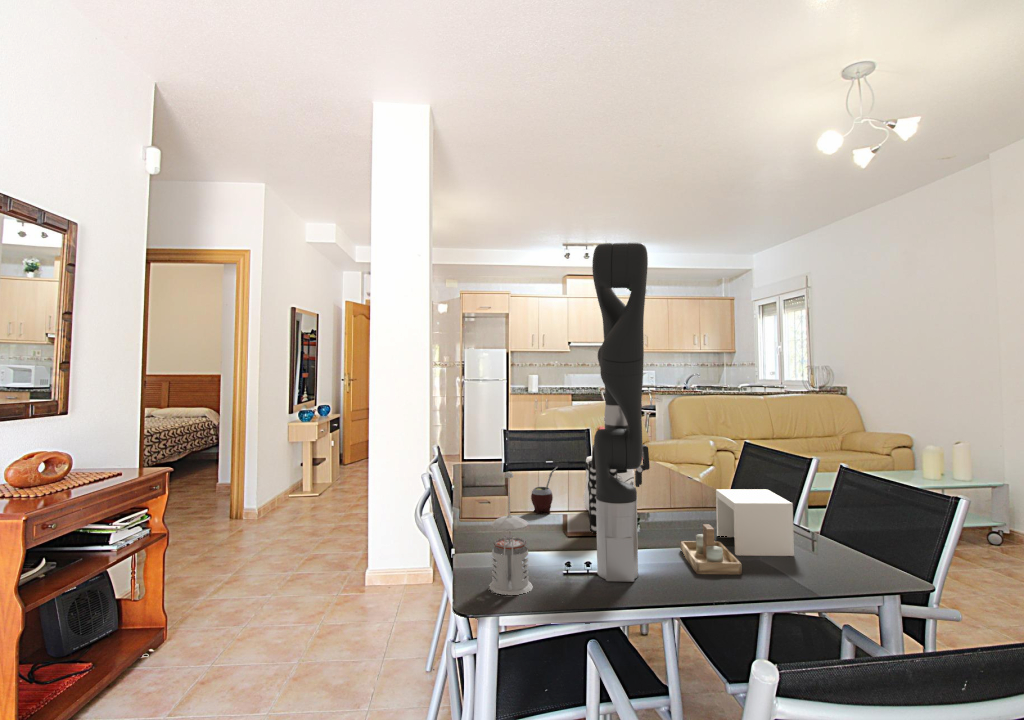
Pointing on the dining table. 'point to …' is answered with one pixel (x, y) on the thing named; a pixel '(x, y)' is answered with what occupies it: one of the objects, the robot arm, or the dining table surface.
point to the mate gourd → (542, 498)
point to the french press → (510, 556)
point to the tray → (710, 566)
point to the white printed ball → (622, 475)
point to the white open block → (755, 521)
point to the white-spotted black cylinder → (594, 495)
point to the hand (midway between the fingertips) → (620, 486)
